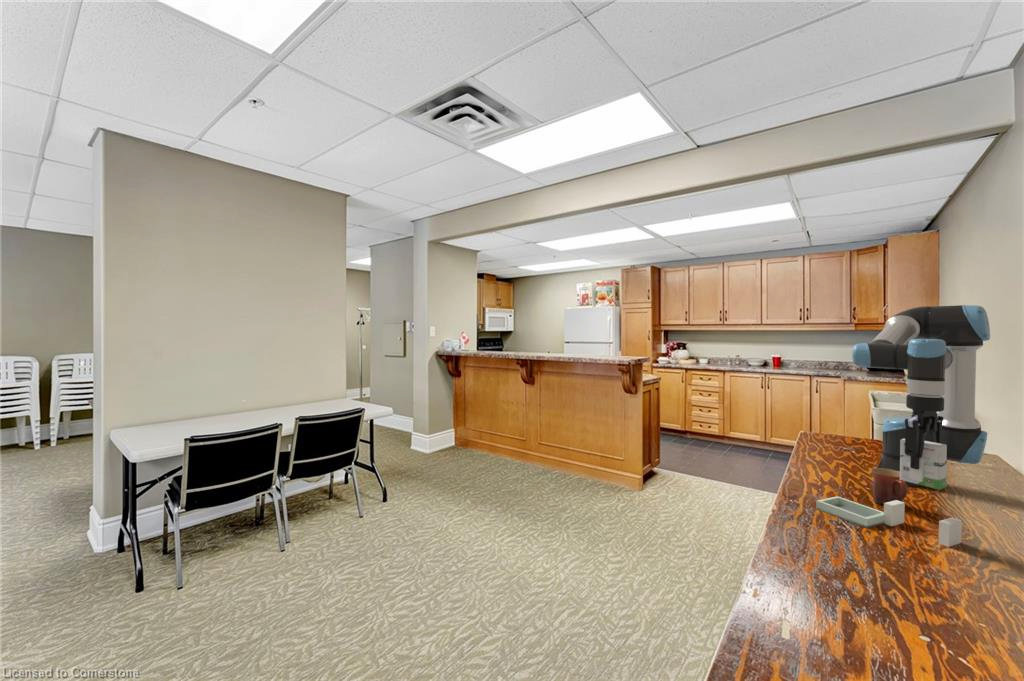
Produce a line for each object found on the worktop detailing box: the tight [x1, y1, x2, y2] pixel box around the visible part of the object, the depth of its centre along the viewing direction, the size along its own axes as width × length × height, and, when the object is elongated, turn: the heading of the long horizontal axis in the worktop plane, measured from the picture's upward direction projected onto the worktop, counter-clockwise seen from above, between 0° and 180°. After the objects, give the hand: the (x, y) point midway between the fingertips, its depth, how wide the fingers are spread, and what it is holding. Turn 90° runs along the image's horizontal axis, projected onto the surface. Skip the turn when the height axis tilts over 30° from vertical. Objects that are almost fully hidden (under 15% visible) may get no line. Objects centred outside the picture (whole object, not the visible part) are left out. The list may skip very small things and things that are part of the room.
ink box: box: [900, 439, 948, 490], centre depth 119 cm, size 9×5×12 cm, turn 26°
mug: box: [870, 467, 908, 506], centre depth 137 cm, size 12×9×10 cm
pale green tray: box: [815, 495, 885, 529], centre depth 130 cm, size 10×14×3 cm
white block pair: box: [883, 500, 963, 548], centre depth 119 cm, size 6×14×6 cm, turn 22°
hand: (922, 478), depth 119 cm, fingers closed on ink box, 5 cm apart
